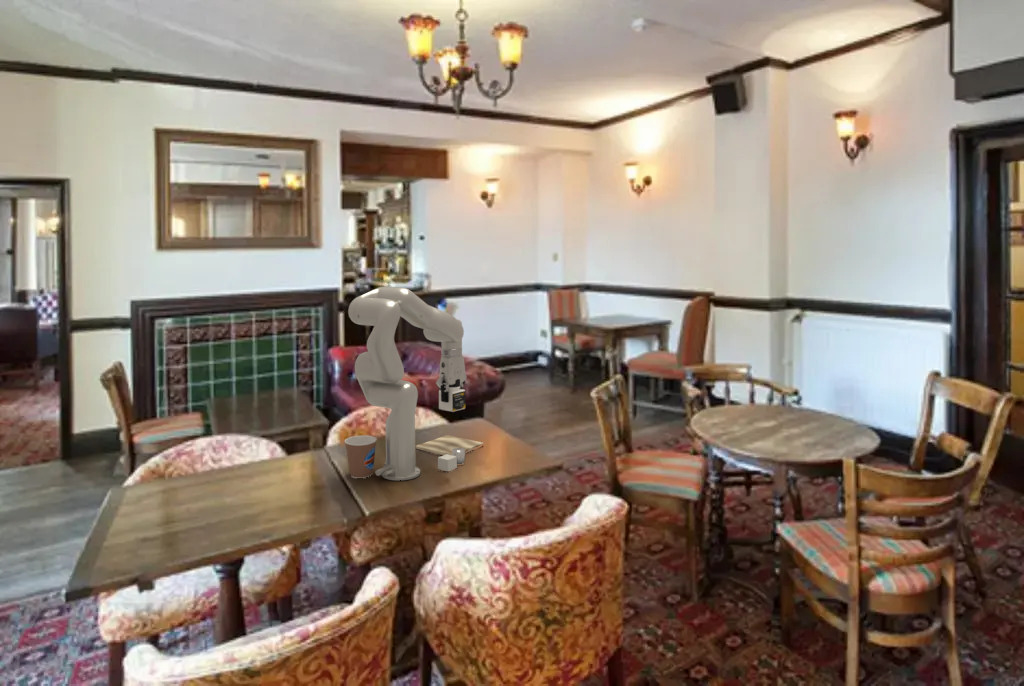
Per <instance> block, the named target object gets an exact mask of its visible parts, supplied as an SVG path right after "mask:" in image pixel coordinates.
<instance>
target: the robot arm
mask: <svg viewBox="0 0 1024 686" xmlns="http://www.w3.org/2000/svg"><path fill="white" fill-rule="evenodd" d="M347 314H348V318H349V319H350V320H351V322H353V323H354V324H357V325H360V326H373V328H372V331H371V333H370V334H369V336H368V339H367V340H366V349H367V351H364V352H362V353H360V354H359V355H358V356H357V358H356V360H355V362H354V373H355V376H356V379H357V381H358V384H359V386H360V389H361V392H363V394H364V398H365V399H366V401H367V403H368V404H370V405H372V406H374V407H379V408H385V409H389V410H390V409H391V411H390V413H389V415H388V416H387V418H386V420H385V427H384V428H385V462H384V463H383V467H382V468H378V469H375V476H378V477H379V476H381V477H382V478H383V479H385V480H389V481H395V482H396V481H399V482H400V480H401V481H407V480H412V479H415V478H418V477H419V476H420V474H421V469H420V468H419V467H418V466H416V410H417V403H418V397H419V391H418V388H417V386H416V385H415V384H414V383H412V382H410V381H407V380H403V378H404V374H405V369H404V365H403V362H402V359H401V356H400V354H399V353H400V352H399V351H398V348H397V346H396V342H395V334H396V329H397V327H398V324H399V321H400V318H402V319H404V320H405V321H406V322H407V323H409V324H410V325H412V326H413V327H416V328H420V329H422V330H423V335H424V337H425V338H426V340H428V341H430V342H438V343H441V352H440V353H441V356H440V362H439V377H438V379H437V380H436V382H435V385H436V386H437V388H438V389H439V390H440V391H441V401H442V402H446V403H447V402H449V392H447V391H448V388H449V385H453V384H455V381H456V380H457V379H460V388H459V389H463V388H464V387H465V385H464V384H466V380H467V377H468V375H467V374H466V365H465V359H464V356H463V338H464V332H465V331H464V326H463V322H462V321H461V320H460V319H458V318H456V317H454V316H453V315H452V314H450V313H448V312H446V311H444V310H441V309H439V308H437V307H434V306H432V305H429V304H428V303H426V302H425V301H424V300H423V299H421V298H420V297H419V296H418V295H417V294H415V293H414V292H413V291H411V290H410V289H408V288H406V287H401V286H379V287H376V288H374V289H372V290H370V291H368V292H366V293H363V294H362V295H358V296H356V297H355V298H353V300H352V301H351V302H350V303H349V305H348V310H347ZM445 382H446V383H445ZM444 385H446V387H444ZM463 390H464V389H463Z"/></svg>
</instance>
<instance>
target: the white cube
mask: <svg viewBox="0 0 1024 686" xmlns="http://www.w3.org/2000/svg"><path fill="white" fill-rule="evenodd" d="M455 468H457V469H458V466H457V456H452V455H448V454H446V455H443V456H438V457H437V470H438V469H441V470H444V471H451V470H453V469H455ZM451 472H452V471H451Z"/></svg>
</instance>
